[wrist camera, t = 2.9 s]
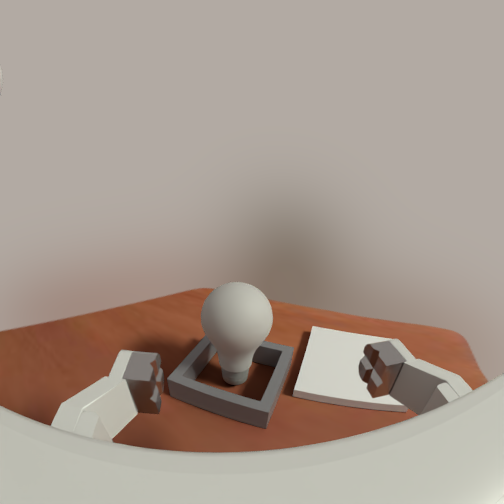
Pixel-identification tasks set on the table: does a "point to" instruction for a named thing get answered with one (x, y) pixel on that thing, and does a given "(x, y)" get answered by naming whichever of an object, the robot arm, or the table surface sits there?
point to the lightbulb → (236, 326)
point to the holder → (225, 401)
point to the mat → (339, 371)
